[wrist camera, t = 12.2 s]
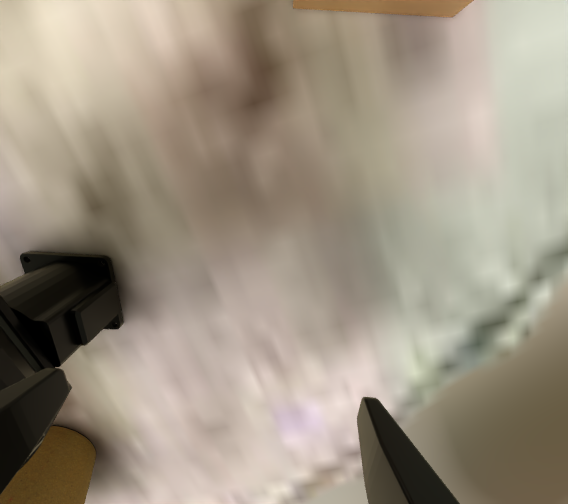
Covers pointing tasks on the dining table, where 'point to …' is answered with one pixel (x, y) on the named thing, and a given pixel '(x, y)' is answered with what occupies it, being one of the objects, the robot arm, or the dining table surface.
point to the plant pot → (54, 471)
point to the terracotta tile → (388, 6)
